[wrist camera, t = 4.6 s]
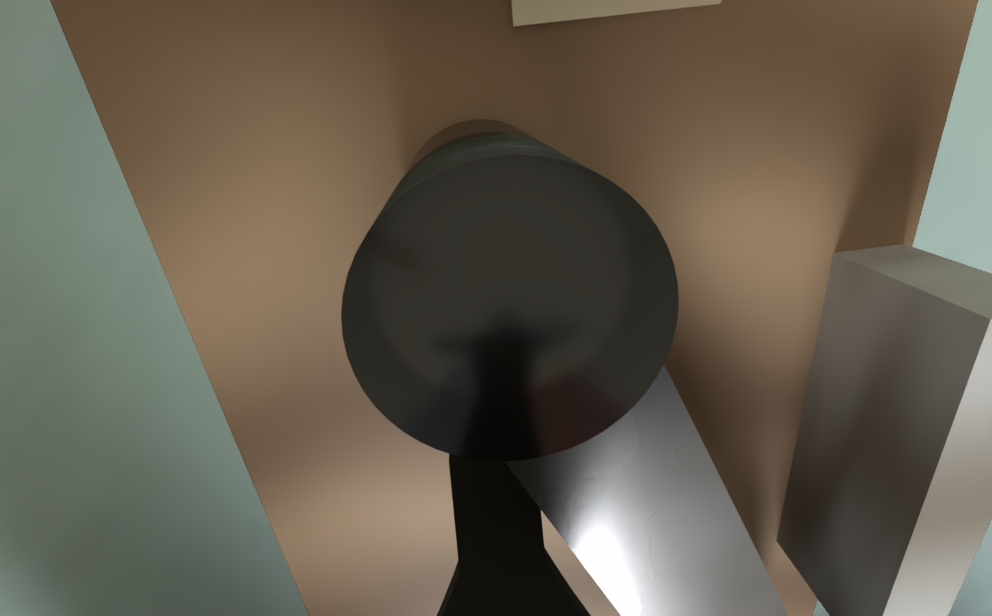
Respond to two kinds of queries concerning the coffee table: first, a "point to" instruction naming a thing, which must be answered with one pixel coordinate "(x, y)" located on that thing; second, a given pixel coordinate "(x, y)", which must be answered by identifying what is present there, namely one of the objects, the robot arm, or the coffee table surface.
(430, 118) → the press base
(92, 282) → the coffee table surface
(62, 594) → the coffee table surface
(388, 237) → the lever
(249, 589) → the coffee table surface
